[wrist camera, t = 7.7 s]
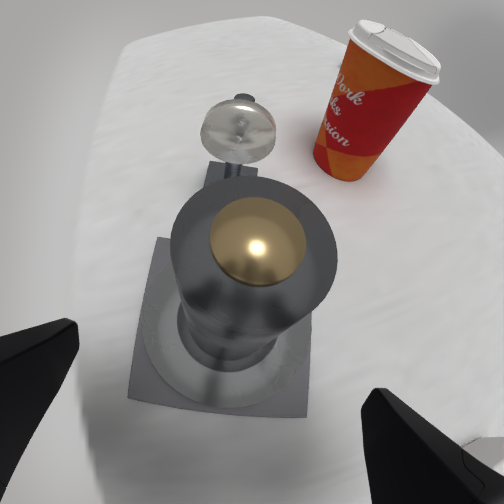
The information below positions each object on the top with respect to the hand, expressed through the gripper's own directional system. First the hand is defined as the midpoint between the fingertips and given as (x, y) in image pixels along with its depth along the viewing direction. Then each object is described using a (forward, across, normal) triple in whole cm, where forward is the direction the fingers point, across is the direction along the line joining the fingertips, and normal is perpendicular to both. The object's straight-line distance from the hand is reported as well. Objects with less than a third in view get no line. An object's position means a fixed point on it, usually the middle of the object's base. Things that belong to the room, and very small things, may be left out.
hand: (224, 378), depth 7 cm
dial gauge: (+18, +2, -3) cm, 18 cm away
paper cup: (+22, -7, -8) cm, 25 cm away
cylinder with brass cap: (+8, 0, +3) cm, 9 cm away
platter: (+10, 0, +4) cm, 10 cm away
